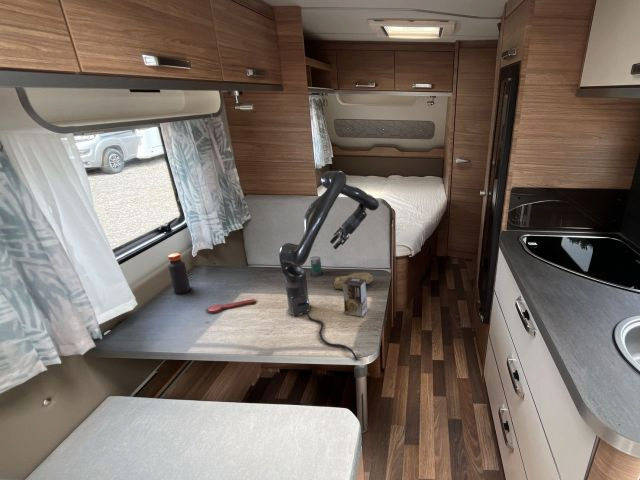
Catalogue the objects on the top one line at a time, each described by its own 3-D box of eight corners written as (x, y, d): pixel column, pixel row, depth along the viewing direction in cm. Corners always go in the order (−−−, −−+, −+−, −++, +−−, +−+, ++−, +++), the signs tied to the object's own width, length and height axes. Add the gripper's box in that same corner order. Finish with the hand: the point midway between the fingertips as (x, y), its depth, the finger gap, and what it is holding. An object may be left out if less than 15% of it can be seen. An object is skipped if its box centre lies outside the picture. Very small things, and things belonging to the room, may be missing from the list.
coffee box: (367, 309, 159) (366, 279, 154) (362, 317, 153) (361, 286, 148) (350, 306, 162) (348, 276, 156) (344, 313, 156) (342, 283, 150)
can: (322, 274, 191) (321, 259, 188) (312, 276, 189) (311, 260, 185) (320, 270, 196) (319, 255, 192) (311, 272, 194) (309, 256, 190)
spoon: (254, 304, 161) (254, 302, 161) (207, 314, 153) (207, 312, 153) (254, 298, 166) (253, 296, 166) (208, 307, 158) (208, 305, 158)
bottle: (175, 295, 168) (166, 259, 161) (173, 290, 172) (164, 254, 166) (191, 291, 172) (183, 255, 165) (189, 285, 177) (181, 251, 170)
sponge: (335, 294, 173) (372, 287, 173) (331, 280, 172) (369, 273, 172) (340, 286, 186) (375, 279, 186) (337, 273, 185) (372, 266, 185)
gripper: (343, 216, 196) (325, 237, 195) (349, 224, 184) (330, 246, 183) (352, 224, 200) (334, 244, 199) (359, 231, 188) (340, 253, 187)
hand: (332, 245), depth 191 cm, fingers open, 8 cm apart
